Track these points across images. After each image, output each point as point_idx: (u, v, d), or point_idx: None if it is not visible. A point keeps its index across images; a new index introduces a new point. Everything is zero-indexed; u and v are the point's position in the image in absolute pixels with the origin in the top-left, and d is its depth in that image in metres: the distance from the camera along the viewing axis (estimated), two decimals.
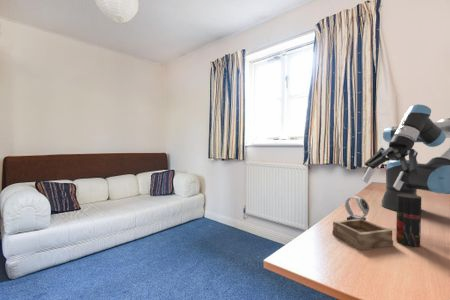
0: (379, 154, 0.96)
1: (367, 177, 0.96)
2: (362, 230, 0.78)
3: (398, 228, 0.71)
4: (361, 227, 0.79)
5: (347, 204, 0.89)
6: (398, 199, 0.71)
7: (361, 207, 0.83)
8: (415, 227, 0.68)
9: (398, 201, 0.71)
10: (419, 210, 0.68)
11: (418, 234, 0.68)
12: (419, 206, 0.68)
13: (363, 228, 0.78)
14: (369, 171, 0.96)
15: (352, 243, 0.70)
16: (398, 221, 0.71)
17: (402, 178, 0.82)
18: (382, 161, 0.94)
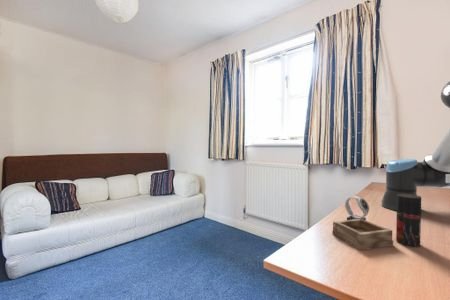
0: None
1: None
2: (362, 230, 0.78)
3: (398, 228, 0.71)
4: (361, 227, 0.79)
5: (347, 204, 0.89)
6: (398, 199, 0.71)
7: (361, 207, 0.83)
8: (415, 227, 0.68)
9: (398, 201, 0.71)
10: (419, 210, 0.68)
11: (418, 234, 0.68)
12: (419, 206, 0.68)
13: (363, 228, 0.78)
14: None
15: (352, 243, 0.70)
16: (398, 221, 0.71)
17: None
18: None
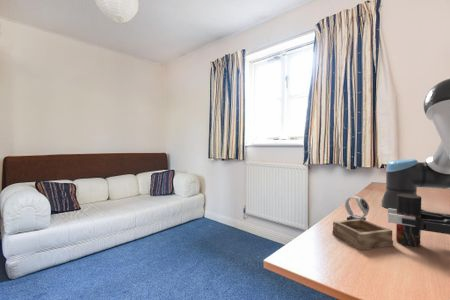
0: None
1: None
2: (362, 230, 0.78)
3: (398, 228, 0.71)
4: (361, 227, 0.79)
5: (347, 204, 0.89)
6: (398, 199, 0.71)
7: (361, 207, 0.83)
8: (415, 227, 0.68)
9: (398, 201, 0.71)
10: (419, 210, 0.68)
11: (418, 234, 0.68)
12: (419, 206, 0.68)
13: (363, 228, 0.78)
14: None
15: (352, 243, 0.70)
16: None
17: None
18: None
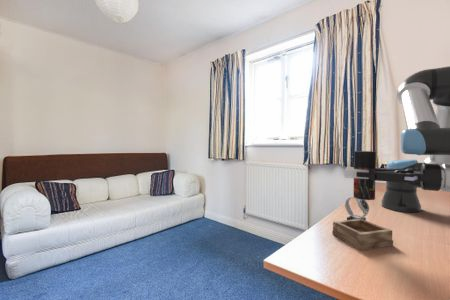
0: None
1: None
2: (362, 230, 0.78)
3: (354, 183, 0.73)
4: (361, 227, 0.79)
5: (347, 204, 0.89)
6: (354, 155, 0.73)
7: (361, 207, 0.83)
8: (369, 181, 0.70)
9: (354, 157, 0.73)
10: (373, 163, 0.70)
11: (372, 187, 0.70)
12: (373, 160, 0.70)
13: (363, 228, 0.78)
14: None
15: (352, 243, 0.70)
16: None
17: None
18: None
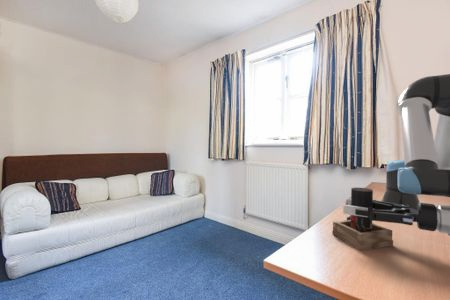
0: None
1: None
2: None
3: (352, 220, 0.74)
4: None
5: (347, 204, 0.89)
6: (352, 193, 0.74)
7: None
8: (366, 220, 0.71)
9: (352, 194, 0.74)
10: (370, 203, 0.71)
11: (369, 226, 0.71)
12: (370, 199, 0.71)
13: None
14: None
15: (352, 243, 0.70)
16: None
17: None
18: None
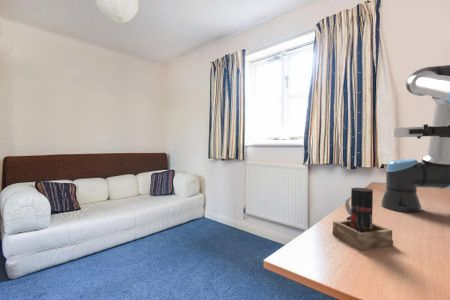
0: None
1: None
2: None
3: (352, 220, 0.74)
4: None
5: (347, 204, 0.89)
6: (352, 193, 0.74)
7: None
8: (366, 220, 0.71)
9: (352, 194, 0.74)
10: (370, 203, 0.71)
11: (369, 226, 0.71)
12: (370, 199, 0.71)
13: None
14: None
15: (352, 243, 0.70)
16: (352, 214, 0.74)
17: None
18: None
